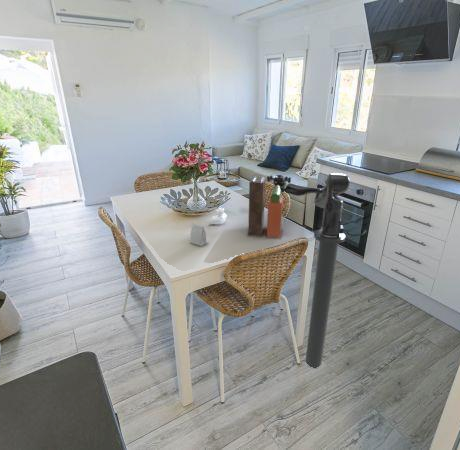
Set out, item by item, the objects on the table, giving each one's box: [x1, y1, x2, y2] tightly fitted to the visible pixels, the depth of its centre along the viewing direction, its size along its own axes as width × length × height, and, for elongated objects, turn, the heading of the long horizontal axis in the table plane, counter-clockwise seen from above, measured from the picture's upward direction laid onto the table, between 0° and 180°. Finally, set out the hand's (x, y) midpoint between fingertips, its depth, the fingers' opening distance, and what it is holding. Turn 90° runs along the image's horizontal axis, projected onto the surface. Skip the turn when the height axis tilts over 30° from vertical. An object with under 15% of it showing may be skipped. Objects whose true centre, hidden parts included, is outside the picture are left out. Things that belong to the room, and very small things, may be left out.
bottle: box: [270, 185, 282, 203], centre depth 169 cm, size 5×21×5 cm, turn 171°
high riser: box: [247, 175, 267, 237], centre depth 169 cm, size 7×12×31 cm, turn 171°
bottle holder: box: [266, 195, 284, 239], centre depth 170 cm, size 7×12×21 cm, turn 171°
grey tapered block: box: [190, 223, 207, 247], centre depth 158 cm, size 4×7×10 cm, turn 58°
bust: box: [209, 207, 228, 226], centre depth 183 cm, size 12×8×11 cm
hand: (278, 177), depth 183 cm, fingers open, 8 cm apart
